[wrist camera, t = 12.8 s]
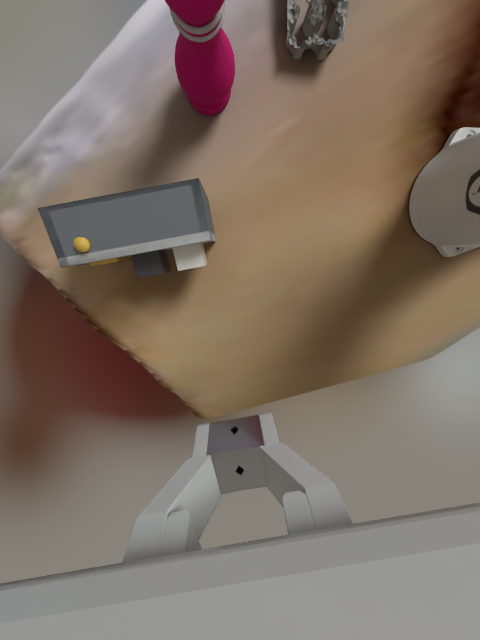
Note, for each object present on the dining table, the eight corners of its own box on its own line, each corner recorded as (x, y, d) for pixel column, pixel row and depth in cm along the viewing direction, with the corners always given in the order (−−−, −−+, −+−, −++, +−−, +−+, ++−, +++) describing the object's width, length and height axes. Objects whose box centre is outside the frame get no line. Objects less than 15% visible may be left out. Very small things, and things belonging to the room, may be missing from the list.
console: (207, 198, 38) (197, 176, 26) (216, 241, 40) (210, 239, 28) (95, 219, 38) (33, 207, 26) (109, 260, 40) (57, 267, 28)
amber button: (120, 230, 34) (107, 229, 30) (129, 259, 35) (117, 261, 32) (95, 235, 34) (78, 234, 30) (105, 264, 35) (90, 266, 32)
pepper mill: (211, 132, 35) (191, 1, 16) (171, 90, 34) (96, -111, 15) (244, 87, 34) (265, -113, 15) (205, 41, 32) (170, -250, 13)
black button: (163, 242, 35) (155, 242, 31) (170, 270, 36) (163, 273, 32) (139, 247, 35) (128, 247, 31) (147, 274, 36) (137, 278, 32)
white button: (201, 235, 35) (197, 234, 31) (207, 263, 36) (204, 266, 32) (176, 240, 35) (170, 239, 31) (183, 268, 36) (178, 270, 32)
